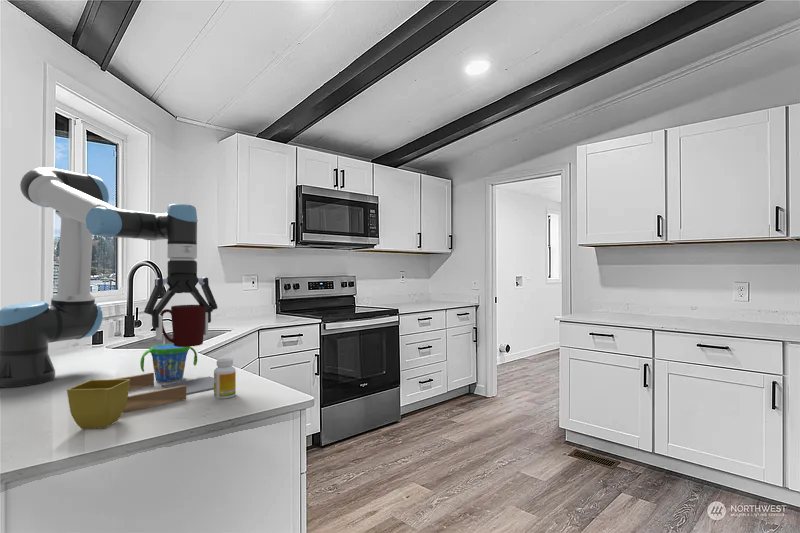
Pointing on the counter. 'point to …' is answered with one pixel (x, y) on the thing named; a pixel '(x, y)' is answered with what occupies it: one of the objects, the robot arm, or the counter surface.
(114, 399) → the flower pot
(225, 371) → the supplement bottle
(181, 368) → the snack cup
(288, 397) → the counter surface
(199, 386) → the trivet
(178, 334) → the mug
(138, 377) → the oak caddy
